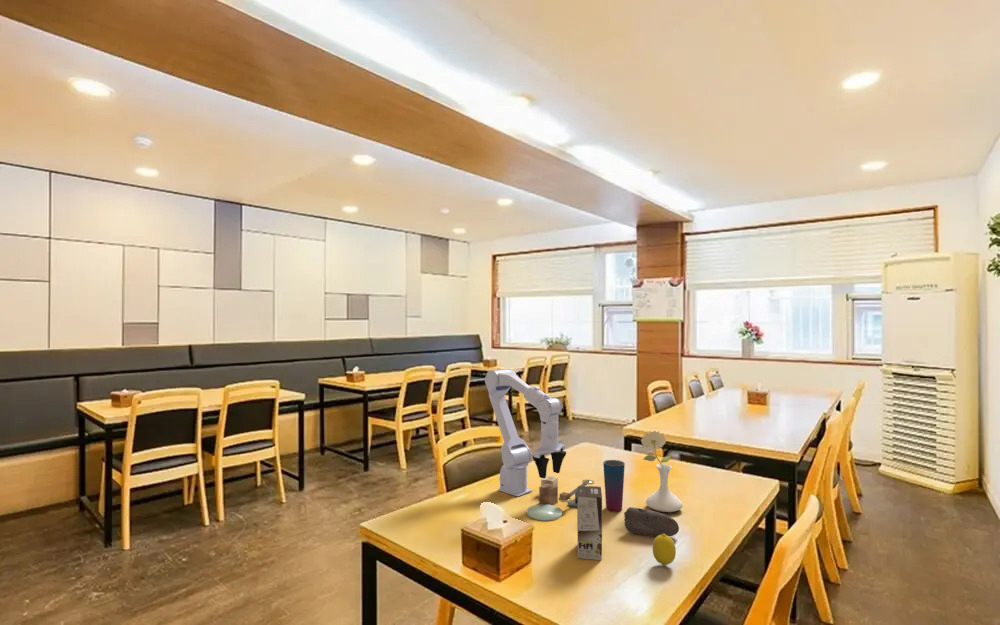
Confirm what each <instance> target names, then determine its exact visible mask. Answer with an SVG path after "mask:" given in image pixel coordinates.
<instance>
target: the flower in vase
mask: <svg viewBox="0 0 1000 625" xmlns="http://www.w3.org/2000/svg"><path fill="white" fill-rule="evenodd" d="M666 440H667V439H666V438H665V434H664V433H660V431H656V430H653V431H651V430H650V431H648V432H645V434H644V435H643V436H642V438H641V439H640V442H641V445H642V446H643V447H644V448H645V449H649V450H653V451H654V455H653V454H647V455H646V456H644V458H643V459H642V460H645V461H649V462H654V461H655V460H656V459H657V461H658V462H659V464H656V465H655V466H656V469H657V470H658V473H659V477H660V478H659V479H660V483H659V484H660V487H659V488H658V489H657V490H656V491H654V492H653V493H651V494H650V495H649V496H648V497H647V498H646V499H645V503H646V505H647V507H649V508H650V509H653V510H655V511H657V512H663V513H665V512H666V513H673V512H677V511H678V512H679V511H680V510H681V509H682V508H683V505H684V504H683V503H682V500H680V499H679V497H678V496H676V495H675V494H674V492H673V493H672V491H671V490H670V489H669V486H668V485H669V483H668V482H669V481H668V479H669V473H670V471H671V470H672V468H673V466H672V465H670V464H666V463H667V462H669V461H670V460H671V459H672V457H673V454H670V455H667V456H664V457H662V459H661V461H660V459H659V458H658V456H657V451H656V450H659V449H661V448H663V447H664V446H665V444H666V442H667V441H666Z"/></svg>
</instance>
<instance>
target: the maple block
mask: <svg viewBox="0 0 1000 625" xmlns="http://www.w3.org/2000/svg"><path fill="white" fill-rule="evenodd" d="M558 478H559V477H555V476H548V475H546V478H541V480H540V486H542V485H545V484H551V485H554V486H558V483H559V482H558Z"/></svg>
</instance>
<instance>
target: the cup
mask: <svg viewBox="0 0 1000 625" xmlns="http://www.w3.org/2000/svg"><path fill="white" fill-rule="evenodd" d="M602 465H603V478H604V479H603V480H604V481H603V482H604V494H605V510H607V511H609V512H612V513H618V512H622V511H623V499H624V485H625V484H624V482H625V465H626V464H625V462H624V461H622V460H619V459H606V460H604V461H603V463H602Z"/></svg>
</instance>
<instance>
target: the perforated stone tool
mask: <svg viewBox="0 0 1000 625" xmlns="http://www.w3.org/2000/svg"><path fill="white" fill-rule="evenodd" d="M623 516H624V520H623V522H624V526H625V529H626V530H627V531H628V532H631V533H634V534H637V535H640V536H641V535H642V536H650V537H657V536H659V535H662V534H666V535H667V536H669V537H673V536H675V535H677V534H678V533H679V530H680V527H679V524H678V522H677V521H676V520H675V519H674V518H673V517H670V515H667V514H664V513H661V512H660V511H656V510H655V511H654V510H650V509H644V508H638V507H631V506H630V507H628V508H626V510H625V512H624V513H623Z"/></svg>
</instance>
